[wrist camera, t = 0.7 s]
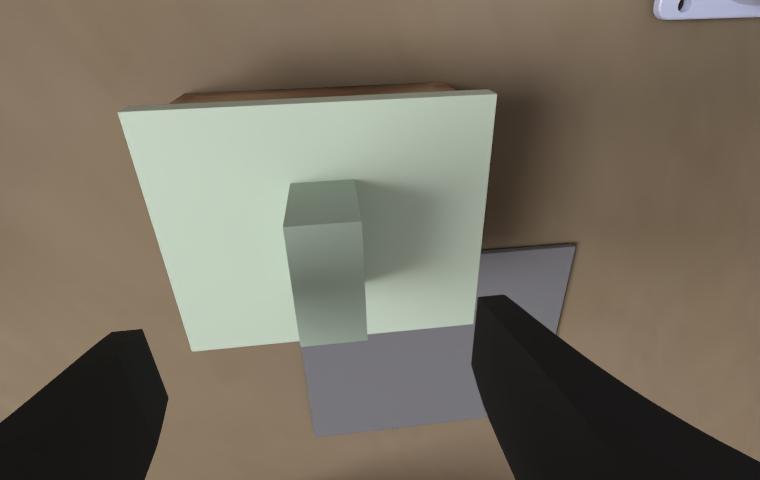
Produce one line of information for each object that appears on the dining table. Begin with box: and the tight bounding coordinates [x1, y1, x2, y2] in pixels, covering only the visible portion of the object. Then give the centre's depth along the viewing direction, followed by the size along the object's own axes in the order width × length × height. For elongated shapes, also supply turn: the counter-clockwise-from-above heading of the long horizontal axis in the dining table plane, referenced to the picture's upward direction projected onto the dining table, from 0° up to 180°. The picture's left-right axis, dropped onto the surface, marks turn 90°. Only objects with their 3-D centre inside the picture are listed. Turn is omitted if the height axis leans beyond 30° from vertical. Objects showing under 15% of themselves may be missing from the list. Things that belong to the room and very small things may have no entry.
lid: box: [118, 89, 497, 351], centre depth 14 cm, size 11×9×4 cm
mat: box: [302, 243, 576, 438], centre depth 24 cm, size 14×12×1 cm
